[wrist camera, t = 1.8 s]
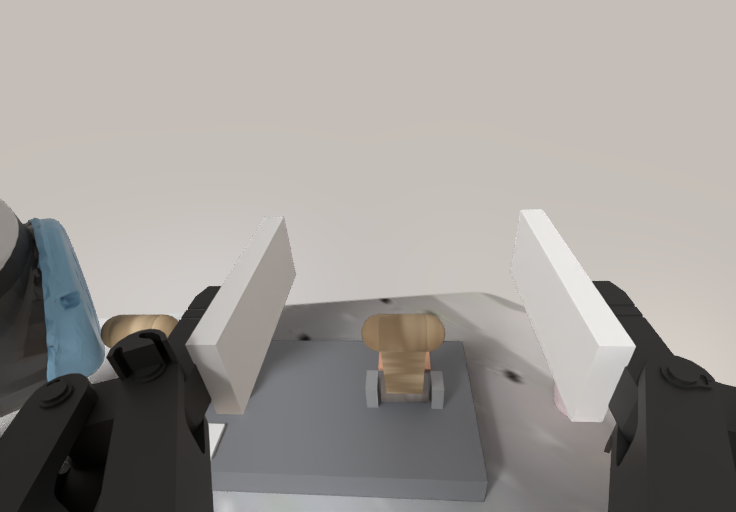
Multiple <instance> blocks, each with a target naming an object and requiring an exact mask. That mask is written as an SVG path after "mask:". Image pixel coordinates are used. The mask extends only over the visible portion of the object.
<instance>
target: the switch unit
mask: <svg viewBox="0 0 736 512" xmlns="http://www.w3.org/2000/svg"><path fill="white" fill-rule="evenodd" d="M381 373H384V371H383V364H382V358H381V352H378V351H374V350H372V349H370V348H369V347H367V346H366V344H365V343H364V341H271V342H270V345H269V347H268V350H267V353H266V355H265V358H264V361H263V363H262V366H261V369H260V371H259V374H258V377H257V379H256V382H255V385H254V387H253V390H252V392H251V395H250V398H249V400H248V403H247V406H246V408H245V411H244V414H243V415H239V414H217V413H216V411H215V409H214V407H213V404H212V402H211V403H210V405H209V407H208V409H207V411H206V413H205V416H206V418H207V421H208V424H209V440H210V458H211V476H212V490H213V491H237V492H261V493H285V494H309V495H333V496H357V497H381V498H405V499H430V500H454V501H478V502H484V499H485V494H486V489H487V484H488V479H487V474H486V468H485V463H484V457H483V452H482V446H481V441H480V435H479V430H478V425H477V419H476V414H475V408H474V403H473V397H472V392H471V386H470V381H469V375H468V370H467V364H466V359H465V353H464V348H463V343H462V341H443V343H442V345H441V346H440V347H439V348H438V349H436V350H434V351H431V352H426V360H425V371H424V374H427V376H428V403H420V402H381Z"/></svg>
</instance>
